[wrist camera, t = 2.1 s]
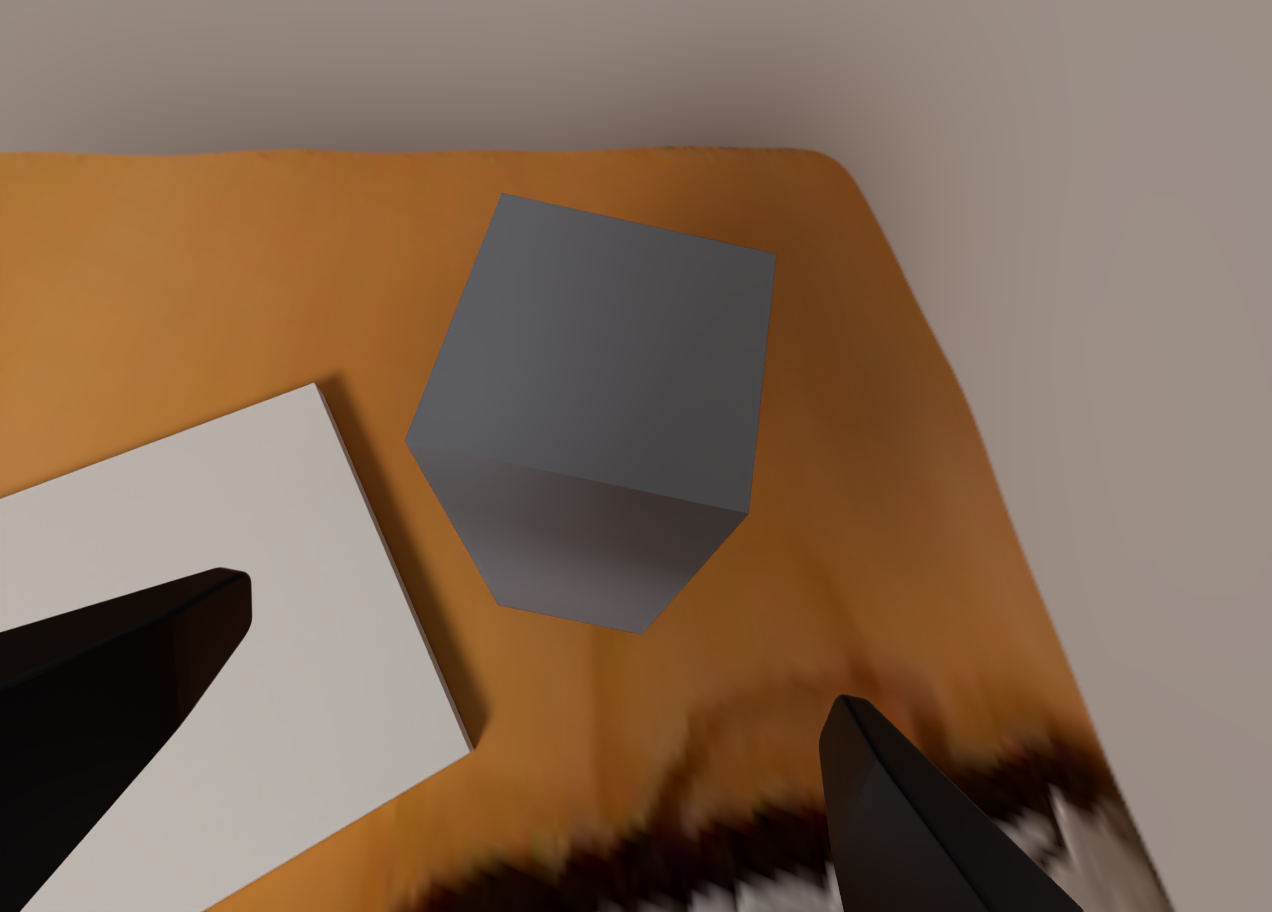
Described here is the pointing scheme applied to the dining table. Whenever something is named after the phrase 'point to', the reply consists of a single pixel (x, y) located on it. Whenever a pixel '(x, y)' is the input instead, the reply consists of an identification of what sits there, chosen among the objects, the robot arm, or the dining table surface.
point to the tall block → (596, 409)
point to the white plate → (240, 651)
